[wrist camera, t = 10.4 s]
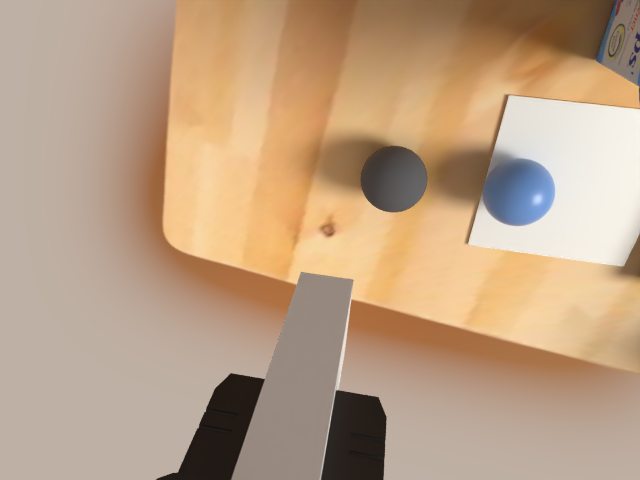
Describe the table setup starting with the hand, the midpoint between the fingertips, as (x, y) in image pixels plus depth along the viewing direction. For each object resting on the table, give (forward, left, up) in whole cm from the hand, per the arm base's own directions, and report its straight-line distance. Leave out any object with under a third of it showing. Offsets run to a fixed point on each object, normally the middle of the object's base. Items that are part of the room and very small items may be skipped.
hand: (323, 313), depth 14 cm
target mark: (+7, +17, -29) cm, 35 cm away
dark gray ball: (+7, +2, -27) cm, 28 cm away
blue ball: (+7, +12, -27) cm, 30 cm away
